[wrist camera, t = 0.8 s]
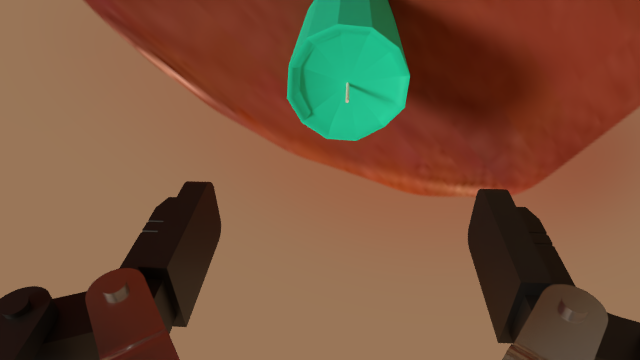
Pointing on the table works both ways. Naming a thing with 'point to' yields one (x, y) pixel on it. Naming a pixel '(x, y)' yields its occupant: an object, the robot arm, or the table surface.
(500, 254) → the robot arm
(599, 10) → the table surface
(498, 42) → the table surface
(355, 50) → the candle
